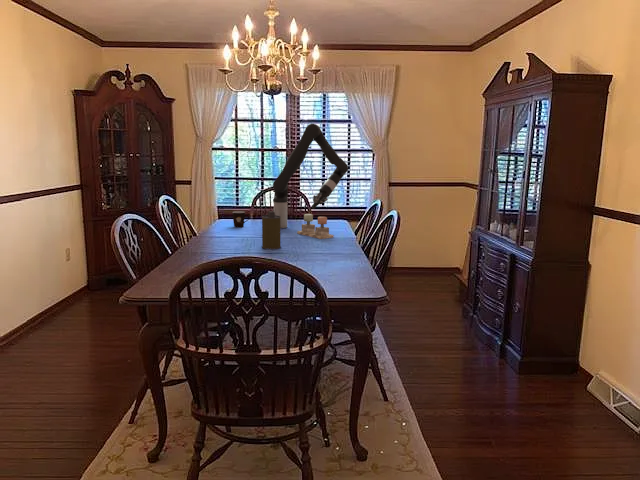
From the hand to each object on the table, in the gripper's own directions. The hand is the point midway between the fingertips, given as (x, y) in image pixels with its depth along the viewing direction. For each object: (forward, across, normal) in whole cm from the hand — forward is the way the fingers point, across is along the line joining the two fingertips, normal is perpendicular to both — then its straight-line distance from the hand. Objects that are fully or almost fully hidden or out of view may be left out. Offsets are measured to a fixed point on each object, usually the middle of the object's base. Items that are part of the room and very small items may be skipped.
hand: (312, 208), depth 331 cm
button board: (+14, +7, +9) cm, 18 cm away
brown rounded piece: (+10, +14, +5) cm, 18 cm away
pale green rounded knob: (+10, 0, +5) cm, 11 cm away
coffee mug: (+29, -48, -6) cm, 56 cm away
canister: (+45, +23, -22) cm, 55 cm away
